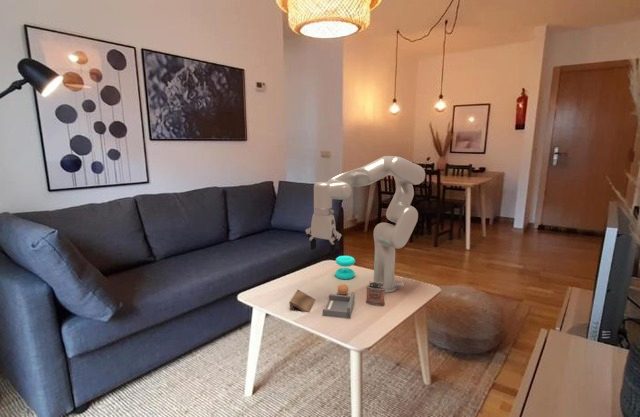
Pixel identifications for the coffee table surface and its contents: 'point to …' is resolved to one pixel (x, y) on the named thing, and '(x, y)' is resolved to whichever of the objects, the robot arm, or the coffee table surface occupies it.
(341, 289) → the ball
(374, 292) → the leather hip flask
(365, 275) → the coffee table surface
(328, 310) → the box
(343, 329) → the coffee table surface
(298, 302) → the ramp
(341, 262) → the donuts
